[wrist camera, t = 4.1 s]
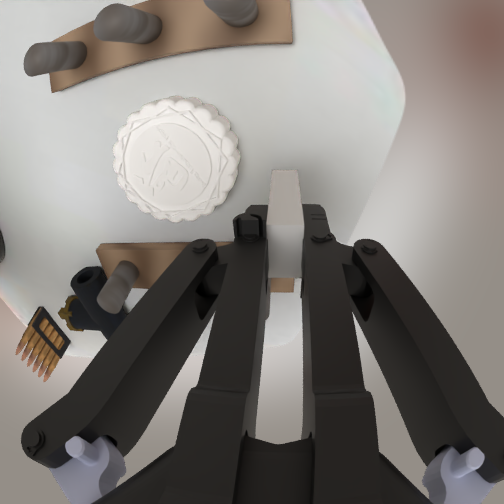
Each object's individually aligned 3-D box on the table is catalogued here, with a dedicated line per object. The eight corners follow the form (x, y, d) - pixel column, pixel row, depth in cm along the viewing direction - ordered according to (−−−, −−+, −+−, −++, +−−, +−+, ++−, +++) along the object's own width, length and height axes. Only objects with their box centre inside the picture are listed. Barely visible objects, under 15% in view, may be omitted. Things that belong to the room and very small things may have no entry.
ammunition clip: (71, 341, 50) (49, 385, 40) (66, 340, 50) (44, 383, 40) (43, 306, 44) (14, 351, 34) (38, 306, 44) (10, 350, 34)
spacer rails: (115, 279, 36) (92, 318, 30) (55, 43, 18) (6, 49, 12) (293, 283, 34) (294, 333, 28) (287, -15, 15) (290, -46, 9)
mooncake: (106, 147, 25) (87, 157, 23) (190, 70, 21) (177, 70, 18) (174, 227, 31) (164, 246, 28) (265, 170, 26) (264, 184, 23)
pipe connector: (84, 353, 41) (38, 290, 33) (95, 331, 45) (55, 268, 37) (136, 359, 40) (89, 289, 31) (145, 334, 44) (106, 263, 35)
